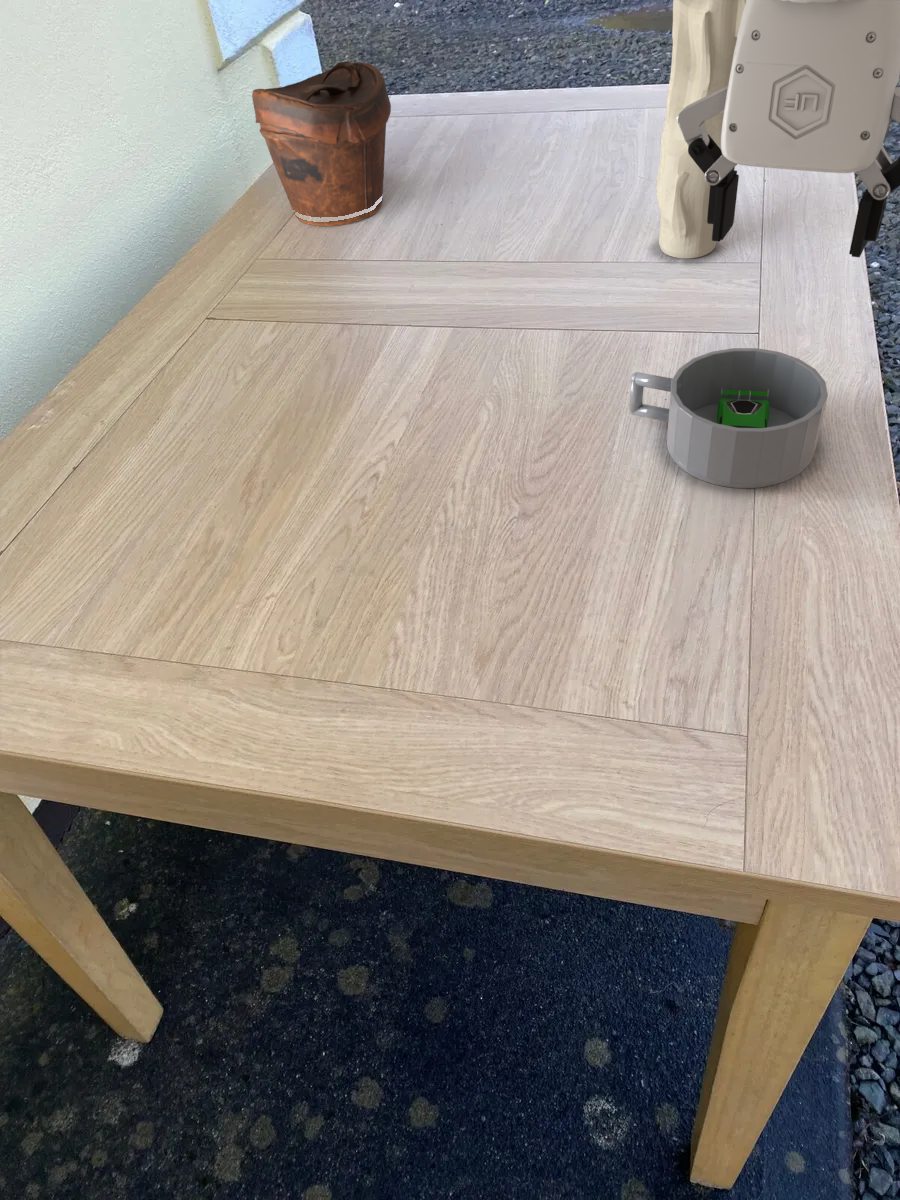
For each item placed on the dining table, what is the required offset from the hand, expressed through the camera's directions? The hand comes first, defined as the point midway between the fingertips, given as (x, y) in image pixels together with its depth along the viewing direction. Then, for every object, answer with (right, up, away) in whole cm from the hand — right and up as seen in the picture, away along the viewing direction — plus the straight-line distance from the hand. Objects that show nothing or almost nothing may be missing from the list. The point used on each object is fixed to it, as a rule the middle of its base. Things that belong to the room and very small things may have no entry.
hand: (788, 241), depth 66 cm
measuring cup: (0, -11, +18) cm, 22 cm away
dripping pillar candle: (+4, +17, +45) cm, 49 cm away
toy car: (+2, -12, +17) cm, 21 cm away
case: (-40, +30, +65) cm, 83 cm away
